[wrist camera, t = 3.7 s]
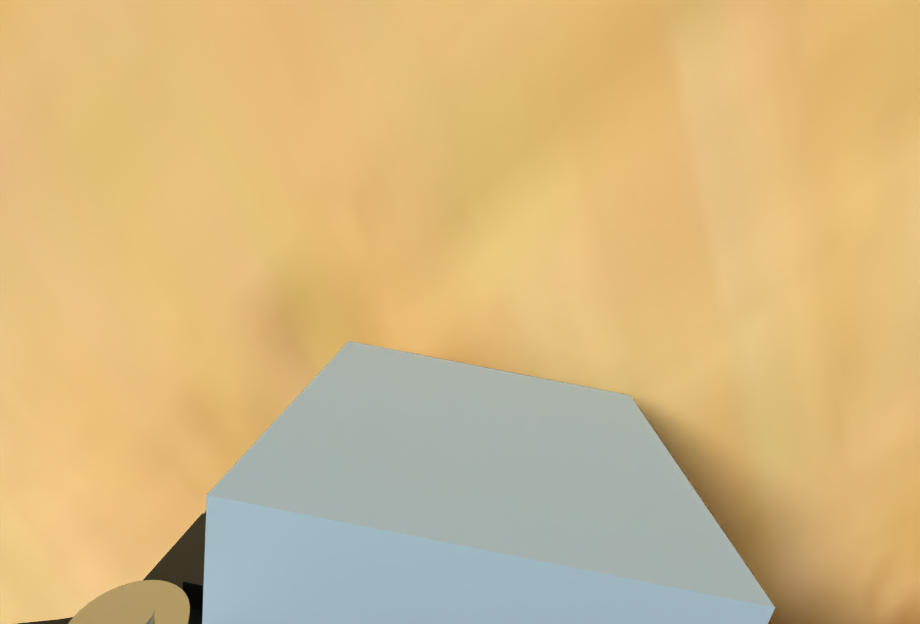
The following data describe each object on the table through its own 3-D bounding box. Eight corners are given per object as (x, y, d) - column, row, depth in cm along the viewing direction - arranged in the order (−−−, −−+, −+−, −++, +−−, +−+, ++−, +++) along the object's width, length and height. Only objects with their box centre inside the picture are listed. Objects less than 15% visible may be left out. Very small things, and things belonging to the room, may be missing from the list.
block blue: (630, 395, 10) (776, 607, 5) (561, 616, 11) (617, 943, 6) (348, 341, 10) (206, 495, 5) (321, 568, 11) (193, 855, 6)
